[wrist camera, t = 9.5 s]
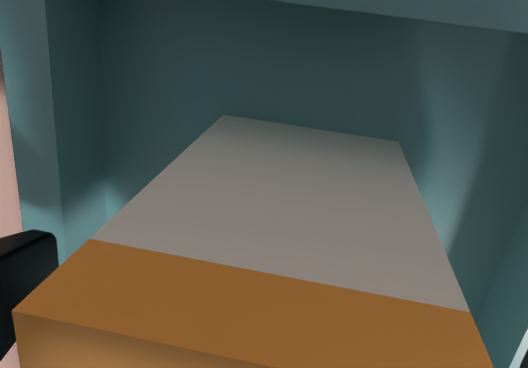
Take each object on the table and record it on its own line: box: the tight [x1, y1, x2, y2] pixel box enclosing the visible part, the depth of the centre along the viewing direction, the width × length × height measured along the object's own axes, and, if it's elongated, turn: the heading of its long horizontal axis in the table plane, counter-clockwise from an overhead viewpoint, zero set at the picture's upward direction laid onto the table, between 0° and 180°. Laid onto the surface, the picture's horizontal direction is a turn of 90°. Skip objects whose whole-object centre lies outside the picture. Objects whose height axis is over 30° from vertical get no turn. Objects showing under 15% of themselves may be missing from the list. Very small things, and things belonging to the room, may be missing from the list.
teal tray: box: [0, 0, 528, 368], centre depth 10 cm, size 12×12×2 cm
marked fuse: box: [12, 115, 494, 368], centre depth 8 cm, size 4×5×7 cm
